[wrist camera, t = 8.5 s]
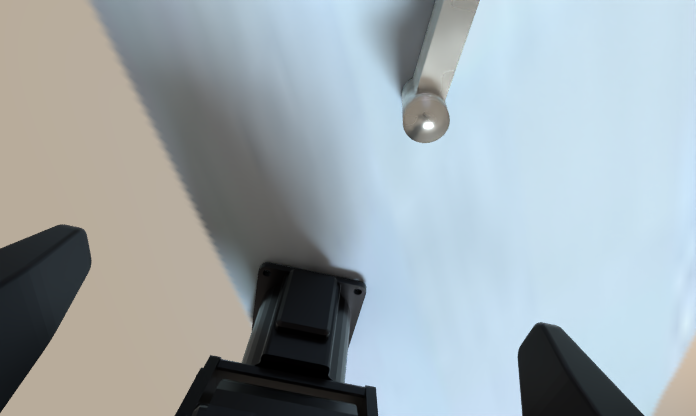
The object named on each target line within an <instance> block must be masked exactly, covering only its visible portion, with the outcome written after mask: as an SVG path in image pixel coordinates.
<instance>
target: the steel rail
mask: <svg viewBox="0 0 696 416" xmlns="http://www.w3.org/2000/svg"><path fill="white" fill-rule="evenodd" d="M479 1H480V0H436V1H435V4H434V7H433V11H432V14H431V18H430V21H429V25H428V28H427V31H426V35H425V38H424V42H423V45H422V48H421V52H420V55H419V59H418V62H417V66H416V69H415V72H414V76H413V78H411V79H410V80H409V81H408V82H407V83H406V84H405V86H404V87H403V90H402V95H401V96H402V114H403V127H404V130H405V132H406V134H407V135H408V136H409V137H410V138H411V139H412V140H414V141H416V142H420V143H430V142H433V141H436V140H438V139H439V138H441V137H442V136H443V135H444V134H445V133H446V131H447V129H448V127H449V122H450V118H449V113H448V110H447V106H446V103H445V99H446V96H447V93H448V90H449V88H450V85H451V82H452V79H453V76H454V73H455V70H456V67H457V64H458V62H459V59H460V56H461V53H462V50H463V47H464V44H465V41H466V39H467V36H468V33H469V30H470V27H471V24H472V21H473V18H474V15H475V13H476V10H477V7H478V4H479Z"/></svg>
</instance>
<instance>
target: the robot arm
mask: <svg viewBox="0 0 696 416" xmlns="http://www.w3.org/2000/svg"><path fill="white" fill-rule="evenodd" d="M90 267H91V254H90V249H89V244H88V239H87V234H86V232H85V230H84V229H82V228H79V227H73V226H69V225H57V226H55V227H52V228H50V229H47V230H45V231H42V232H40V233H38V234H35V235H32V236H30V237H28V238H25V239H23V240H20V241H18V242H15V243H13V244H10V245H8V246H6V247H3V248H1V249H0V413H1V411H2V410H3V408H4V407H5V405H6V404H7V403H8V401H9V400H10V398H11V397H12V395H13V394H14V392H15V391H16V390H17V388H18V387H19V385H20V384H21V383H22V381H23V380H24V378H25V377H26V375H27V374H28V373H29V371H30V370H31V368H32V367H33V366H34V364H35V363H36V361H37V360H38V358H39V357H40V356H41V354H42V353H43V351H44V350H45V348H46V347H47V345H48V344H49V342H50V340H51V339H52V337H53V336H54V334H55V332H56V330H57V329H58V327H59V325H60V323H61V321H62V320H63V318H64V316H65V314H66V312H67V311H68V309H69V307H70V305H71V303H72V301H73V300H74V298H75V296H76V294H77V292H78V290H79V289H80V287H81V285H82V283H83V281H84V280H85V278H86V276H87V274H88V272H89V270H90ZM266 270H268V271H270V272H267V271H266ZM356 289H360V290H356ZM365 295H366V285H365V284H364V283H363V282H360V281H356V280H351V279H346V278H341V277H336V276H332V275H327V274H322V273H317V272H312V271H307V270H302V269H298V268H293V267H288V266H283V265H278V264H273V263H267V262H266V263H263V264H262V265H261V266H260V269H259V272H258V281H257V289H256V298H255V307H254V316H253V325H252V333H251V336H250V339H249V342H248V345H247V348H246V351H245V354H244V357H243V361H242V363H239V362H233V361H228V360H223V359H221V357H217V356H211V355H210V357H209V359H208V361H207V362H206V364H205V366H204V368H201V369H200V371H199V372H198V374H197V375H196V378H195V380H194V382H193V383H192V385H191V387H190V389H189V391H188V393H187V395H186V396H185V398H184V400H183V402H182V404H181V406H180V407H179V409H178V411H177V413H176V414H175V416H378V408H377V396H376V387H371V386H366V385H365V387H362V386H357V385H352V384H347V383H345V373H346V363H347V352H348V347H349V344H350V341H351V338H352V335H353V332H354V329H355V326H356V323H357V319H358V316H359V313H360V310H361V307H362V304H363V301H364V298H365ZM518 368H519V380H520V392H521V404H522V416H644V415H643V414H642V413H641V412H640V411H639V410H638V409H637V407H636V406H635V405H634V404H633V403H632V402H631V401H630V400H629V399H628V398H627V397H626V396H625V395H624V394H623V393H622V392H621V391H620V390H619V388H618V387H617V386H616V385H615V384H614V383H613V382H612V381H611V380H610V379H609V378H608V377H607V376H606V375H605V374H604V373H603V372H602V371H601V369H600V368H599V367H598V366H597V365H596V364H595V363H594V362H593V361H592V360H591V359H590V358H589V357H588V356H587V355H586V354H585V353H584V352H583V350H582V349H581V348H580V347H579V346H578V345H577V344H576V343H575V342H574V341H573V340H572V339H571V338H570V337H569V336H568V335H567V334H566V333H565V331H564V330H563V329H561V328H560V327H559V326H556V325H552V324H547V323H542V322H540V323H537V324H535V325H534V327H533V328H532V330H531V331H530V333H529V334H528V335H527V337H526V338H525V340H524V341H523V343H522V344H521V346H520V348H519V351H518Z"/></svg>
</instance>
